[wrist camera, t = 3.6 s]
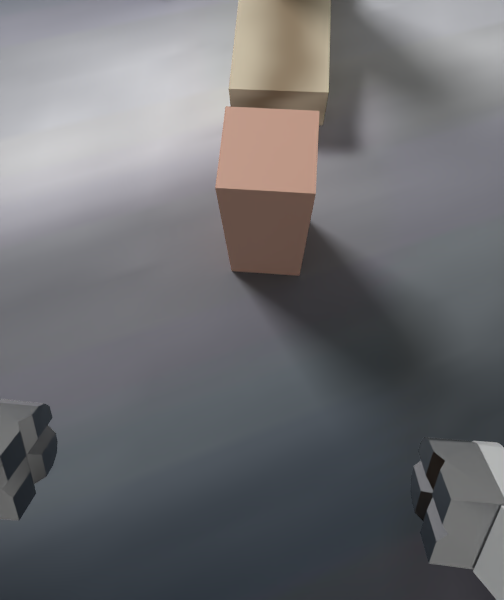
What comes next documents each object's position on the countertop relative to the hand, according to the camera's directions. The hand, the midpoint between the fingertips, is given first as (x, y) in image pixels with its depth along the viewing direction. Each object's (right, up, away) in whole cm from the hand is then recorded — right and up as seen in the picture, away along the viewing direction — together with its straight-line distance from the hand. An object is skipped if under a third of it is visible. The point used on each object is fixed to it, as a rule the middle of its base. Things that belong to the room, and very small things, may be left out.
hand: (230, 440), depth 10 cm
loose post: (+1, +7, +17) cm, 18 cm away
